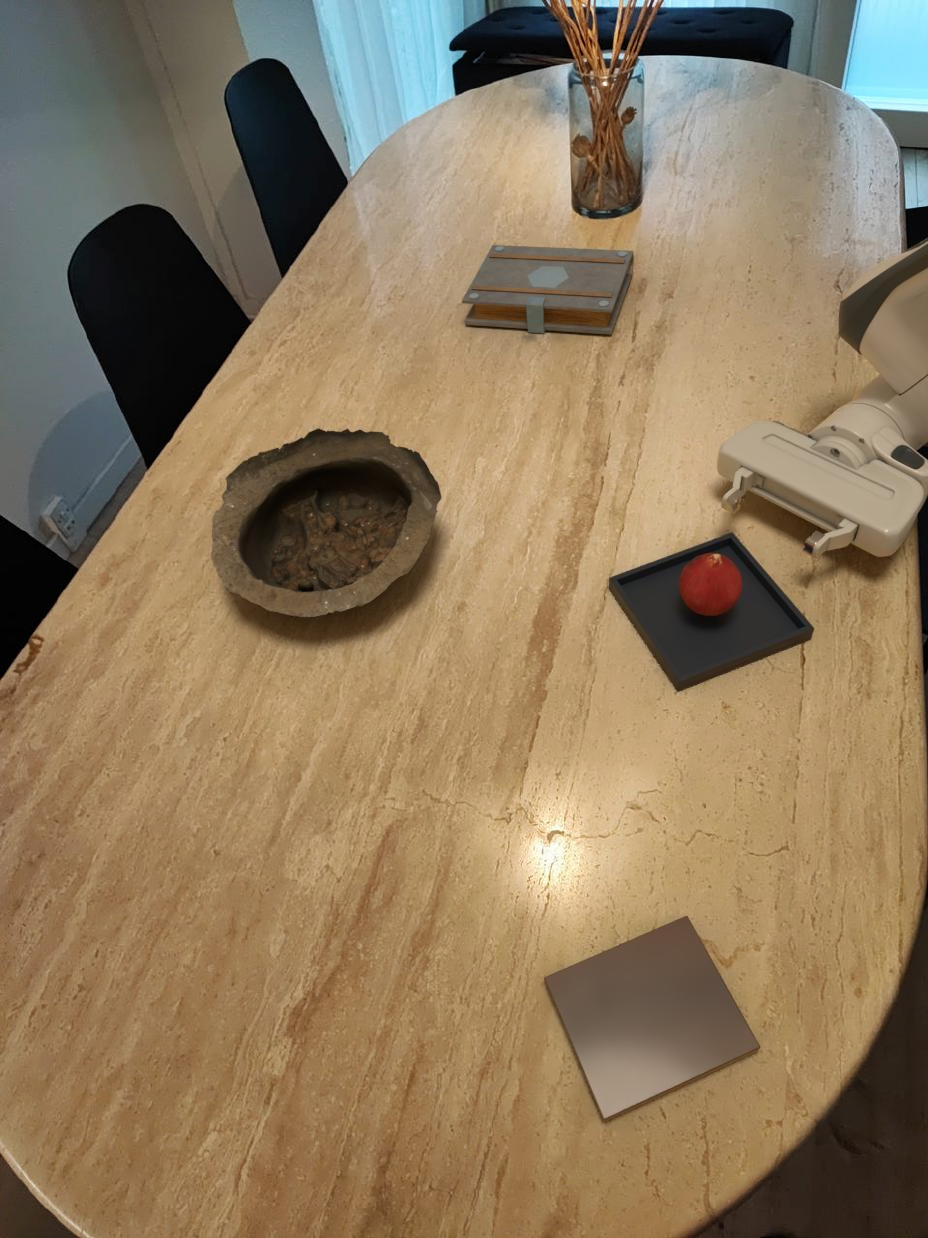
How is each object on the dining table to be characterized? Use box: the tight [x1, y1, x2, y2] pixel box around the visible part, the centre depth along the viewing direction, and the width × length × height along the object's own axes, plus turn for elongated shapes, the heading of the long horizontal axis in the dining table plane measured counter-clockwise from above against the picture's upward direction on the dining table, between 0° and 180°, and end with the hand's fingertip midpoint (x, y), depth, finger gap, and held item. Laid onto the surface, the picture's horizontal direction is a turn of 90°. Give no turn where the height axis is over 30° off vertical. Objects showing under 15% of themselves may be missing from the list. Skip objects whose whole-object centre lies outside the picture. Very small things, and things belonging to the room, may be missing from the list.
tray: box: [608, 531, 815, 692], centre depth 84 cm, size 14×14×2 cm
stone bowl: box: [210, 428, 442, 618], centre depth 92 cm, size 25×25×9 cm
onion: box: [678, 553, 742, 616], centre depth 81 cm, size 6×6×8 cm
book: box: [461, 244, 635, 336], centre depth 121 cm, size 21×16×5 cm
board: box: [543, 915, 761, 1124], centre depth 62 cm, size 10×12×1 cm
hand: (767, 527), depth 83 cm, fingers open, 8 cm apart
